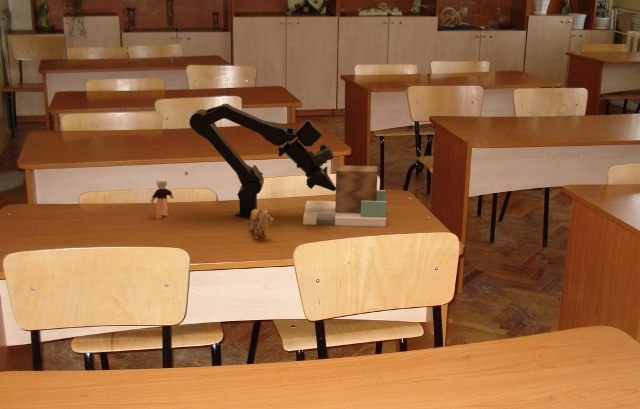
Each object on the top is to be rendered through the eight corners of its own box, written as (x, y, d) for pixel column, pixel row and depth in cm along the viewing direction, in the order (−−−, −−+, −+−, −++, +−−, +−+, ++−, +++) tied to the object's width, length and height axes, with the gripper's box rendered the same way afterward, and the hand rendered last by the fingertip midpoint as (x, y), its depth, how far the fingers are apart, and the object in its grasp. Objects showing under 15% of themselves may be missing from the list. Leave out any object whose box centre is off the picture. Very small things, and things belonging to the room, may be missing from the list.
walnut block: (335, 212, 252) (336, 170, 247) (335, 206, 257) (336, 165, 253) (375, 213, 251) (377, 171, 246) (375, 207, 257) (377, 166, 252)
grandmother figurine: (157, 220, 250) (155, 182, 246) (150, 217, 252) (148, 179, 248) (176, 214, 255) (175, 177, 251) (169, 211, 258) (167, 174, 254)
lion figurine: (275, 239, 235) (275, 211, 232) (258, 242, 233) (258, 214, 230) (257, 224, 248) (256, 197, 245) (241, 226, 246) (240, 199, 243)
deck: (303, 224, 248) (303, 201, 246) (306, 207, 263) (306, 186, 261) (385, 226, 247) (386, 204, 245) (384, 209, 262) (385, 188, 260)
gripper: (317, 146, 238) (353, 182, 241) (320, 132, 256) (353, 165, 259) (291, 171, 241) (327, 205, 244) (296, 154, 259) (329, 187, 262)
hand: (335, 190), depth 252 cm, fingers closed, pressing on walnut block
